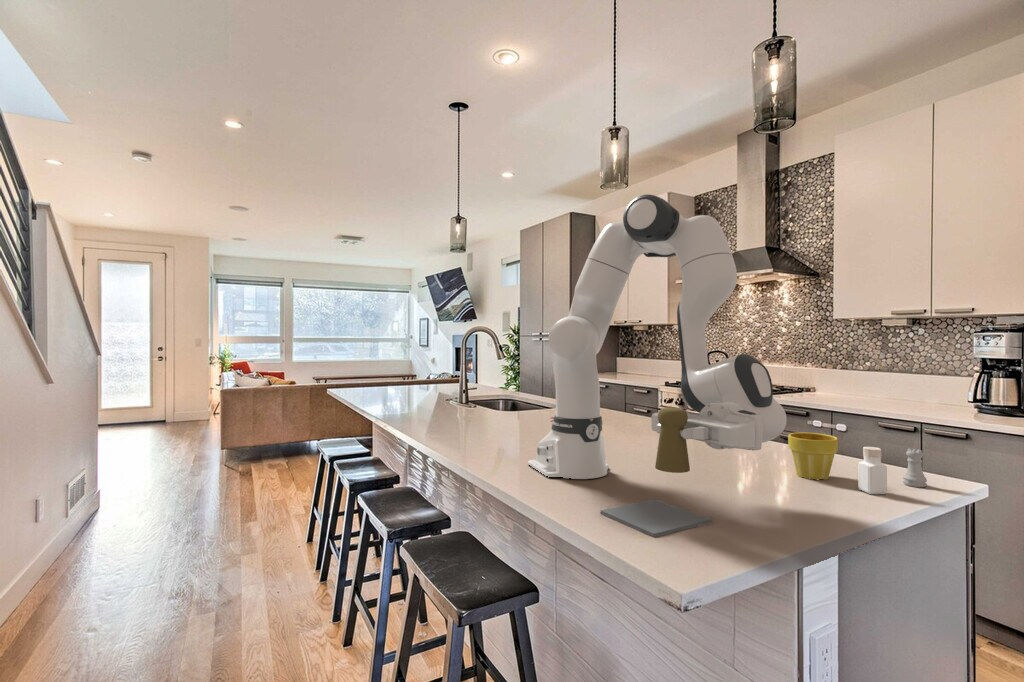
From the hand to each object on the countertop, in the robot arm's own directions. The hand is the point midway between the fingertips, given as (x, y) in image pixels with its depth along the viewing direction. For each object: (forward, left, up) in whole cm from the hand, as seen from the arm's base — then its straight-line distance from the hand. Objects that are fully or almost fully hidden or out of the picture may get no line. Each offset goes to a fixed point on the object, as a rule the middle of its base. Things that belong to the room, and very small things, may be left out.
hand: (669, 431), depth 93 cm
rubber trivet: (-3, -1, -17) cm, 17 cm away
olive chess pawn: (0, +1, -7) cm, 7 cm away
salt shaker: (+9, +51, -17) cm, 55 cm away
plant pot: (-5, +53, -17) cm, 56 cm away
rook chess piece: (+11, +65, -17) cm, 68 cm away
